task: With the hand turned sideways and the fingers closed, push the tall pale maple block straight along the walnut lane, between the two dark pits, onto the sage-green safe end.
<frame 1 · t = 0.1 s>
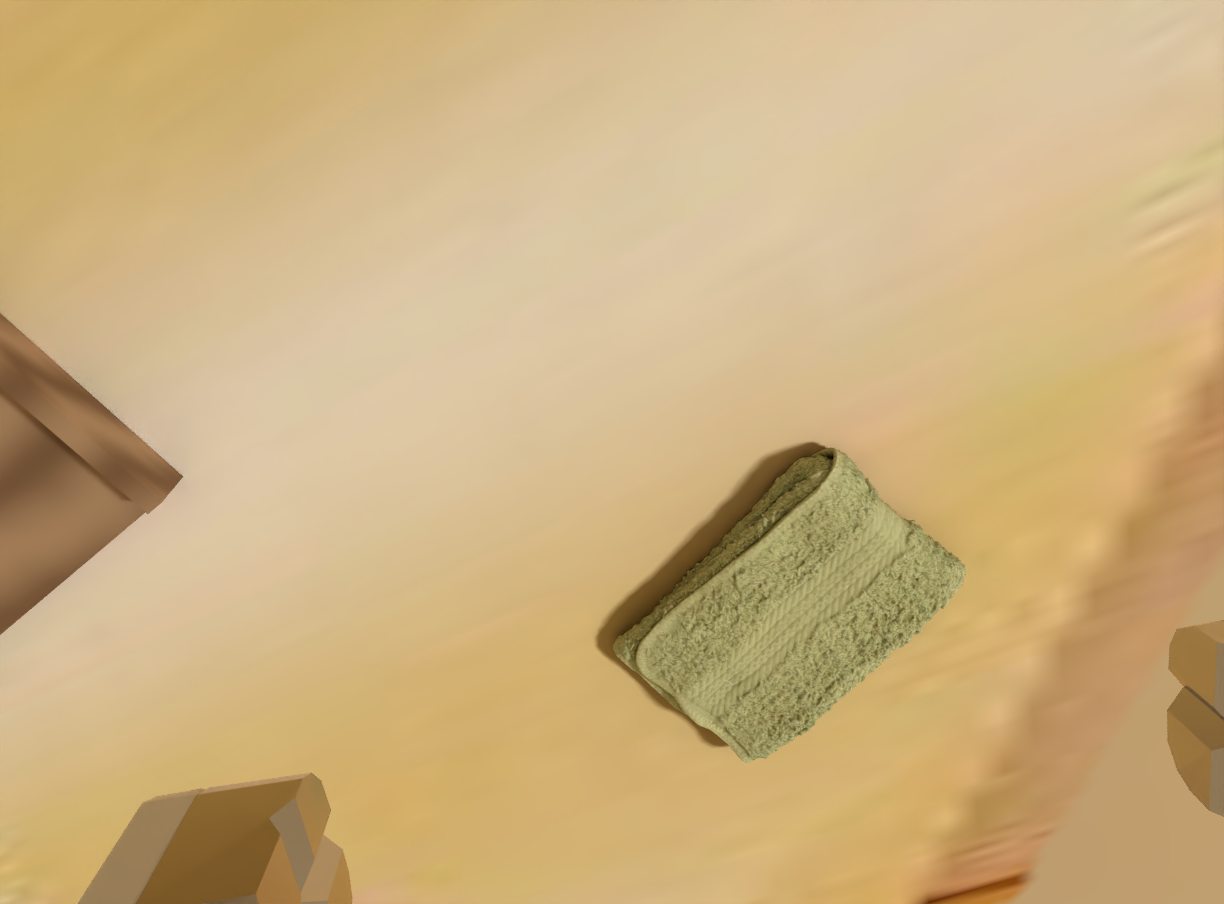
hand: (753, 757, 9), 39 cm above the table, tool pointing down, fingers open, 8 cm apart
washcloth: (783, 599, 55), on the table
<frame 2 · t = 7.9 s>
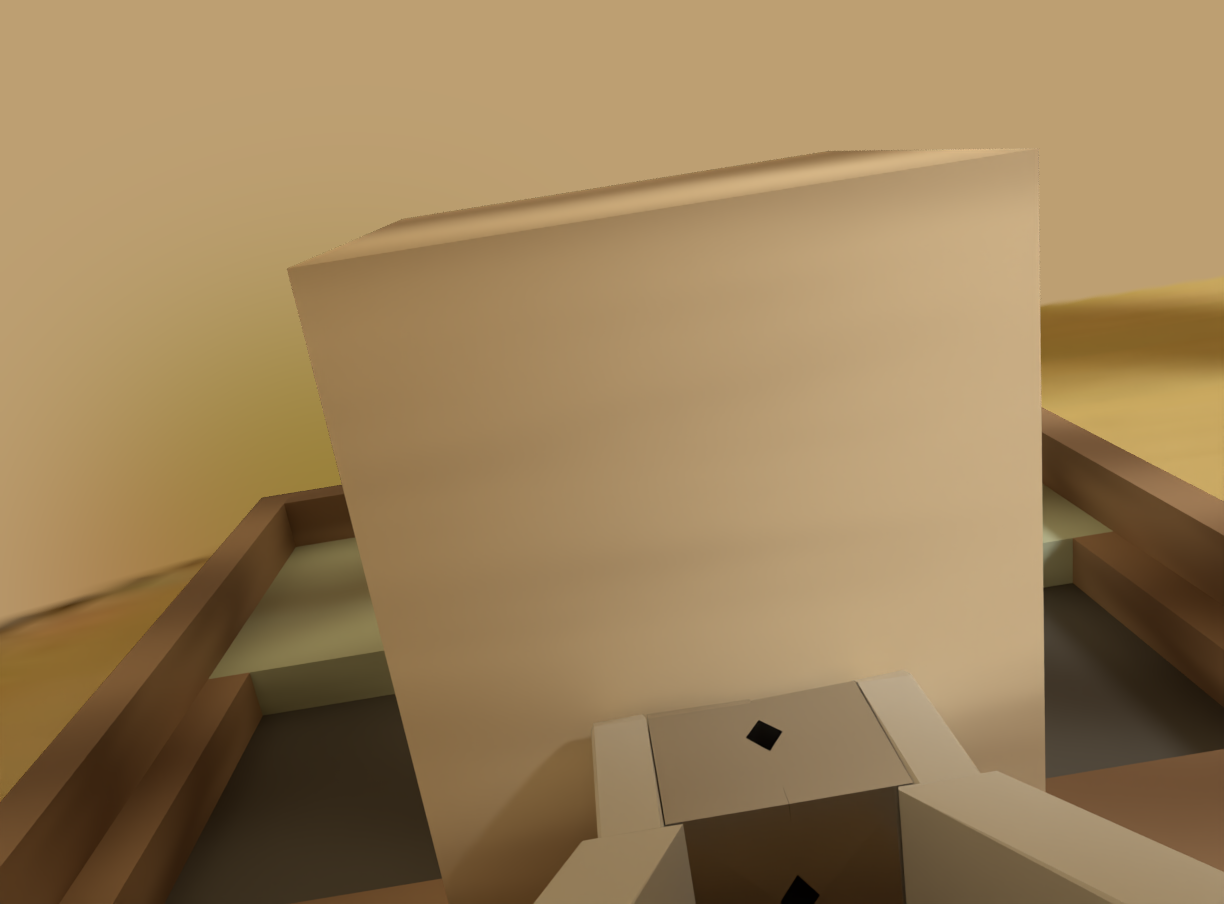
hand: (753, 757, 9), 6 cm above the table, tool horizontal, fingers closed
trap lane: (708, 825, 17), on the table
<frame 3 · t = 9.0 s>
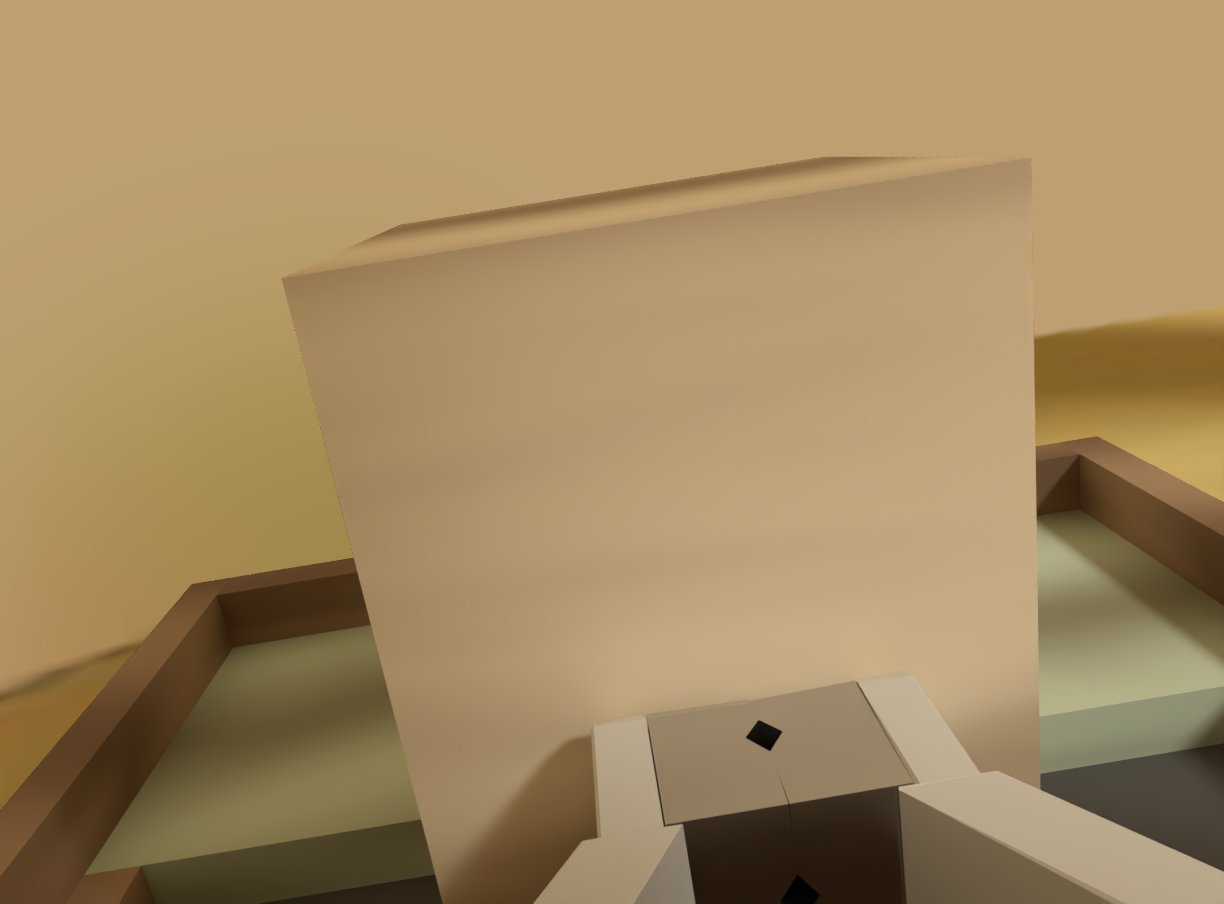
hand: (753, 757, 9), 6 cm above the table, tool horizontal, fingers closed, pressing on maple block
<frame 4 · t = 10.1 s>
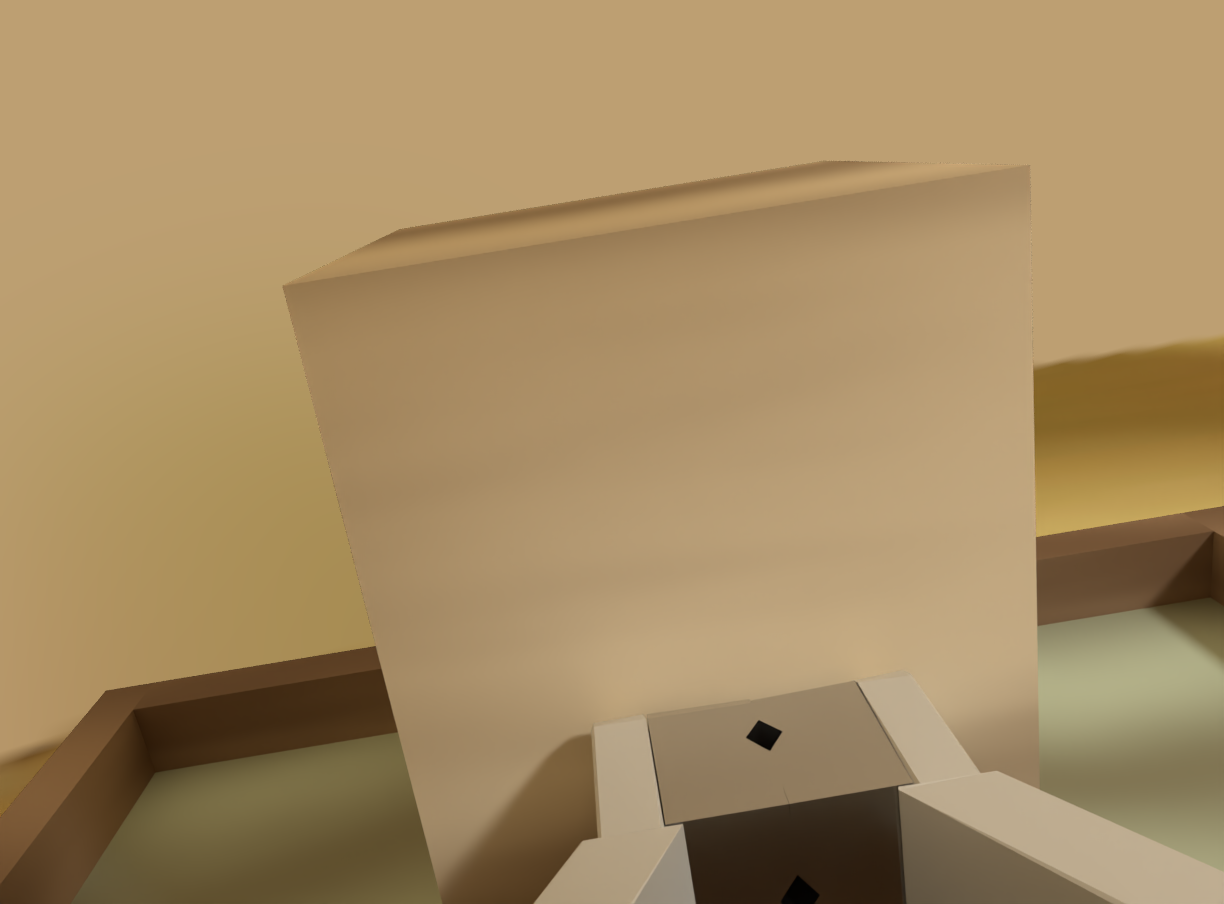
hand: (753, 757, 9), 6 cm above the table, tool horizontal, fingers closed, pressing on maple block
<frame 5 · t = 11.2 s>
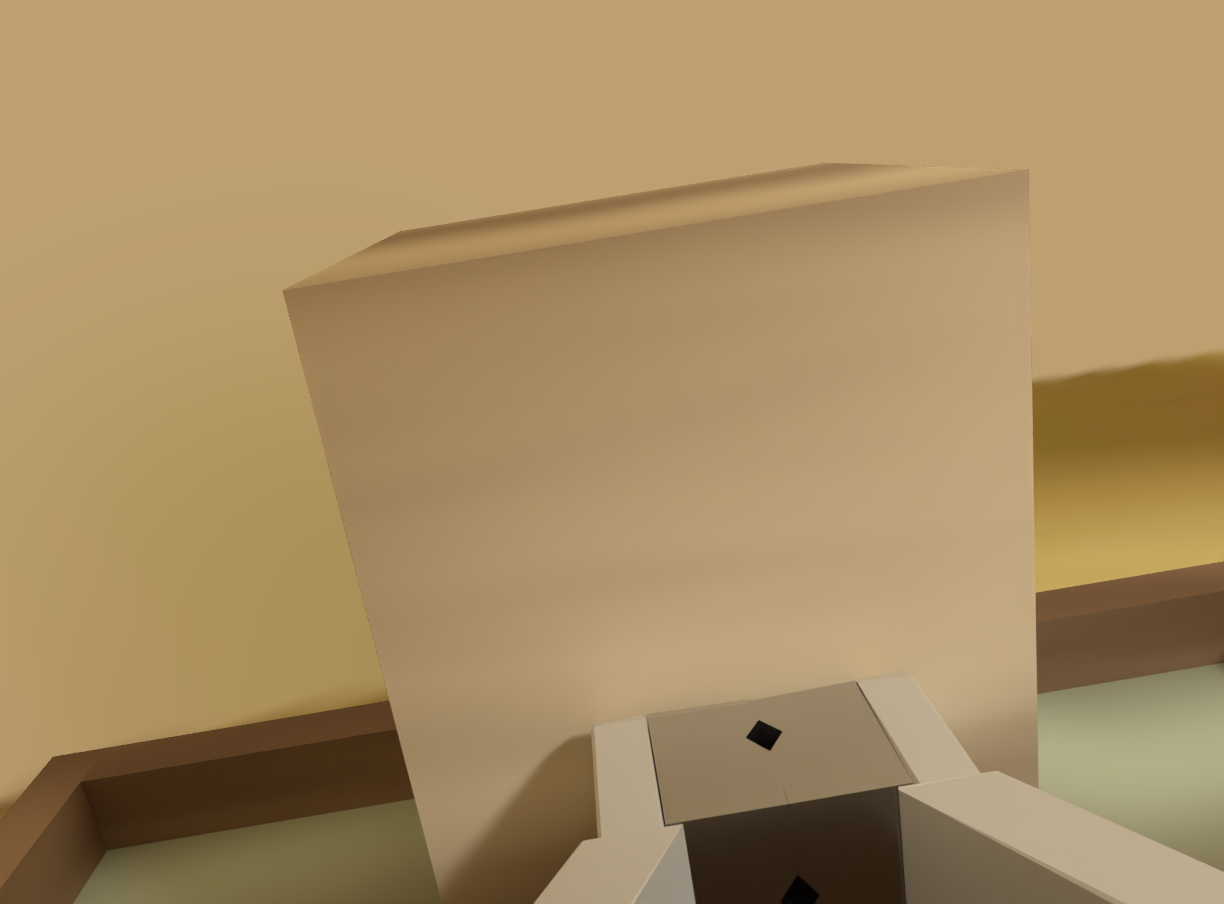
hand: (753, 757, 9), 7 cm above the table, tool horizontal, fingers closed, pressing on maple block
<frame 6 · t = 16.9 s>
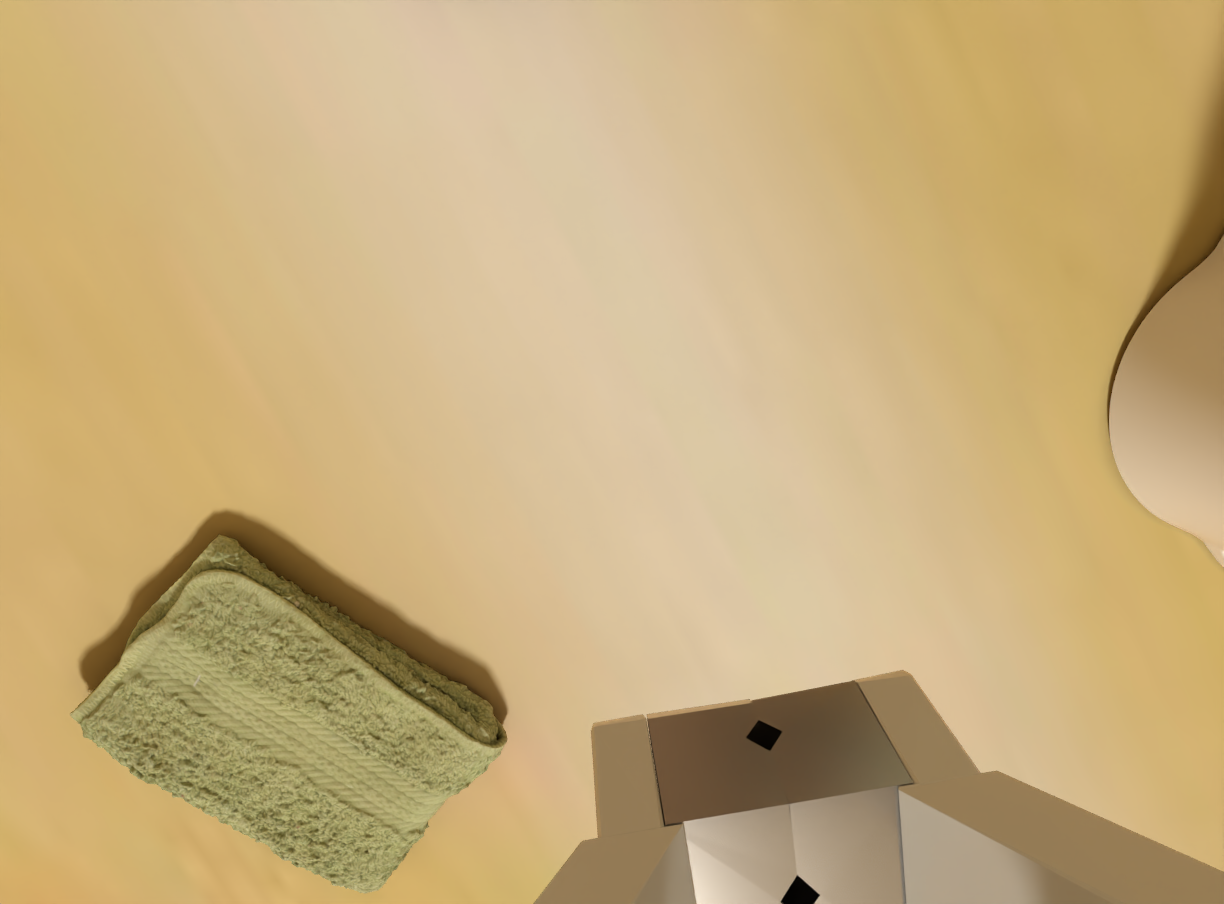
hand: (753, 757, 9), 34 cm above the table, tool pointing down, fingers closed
washcloth: (303, 708, 48), on the table
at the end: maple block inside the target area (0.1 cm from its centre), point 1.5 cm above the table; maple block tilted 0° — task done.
